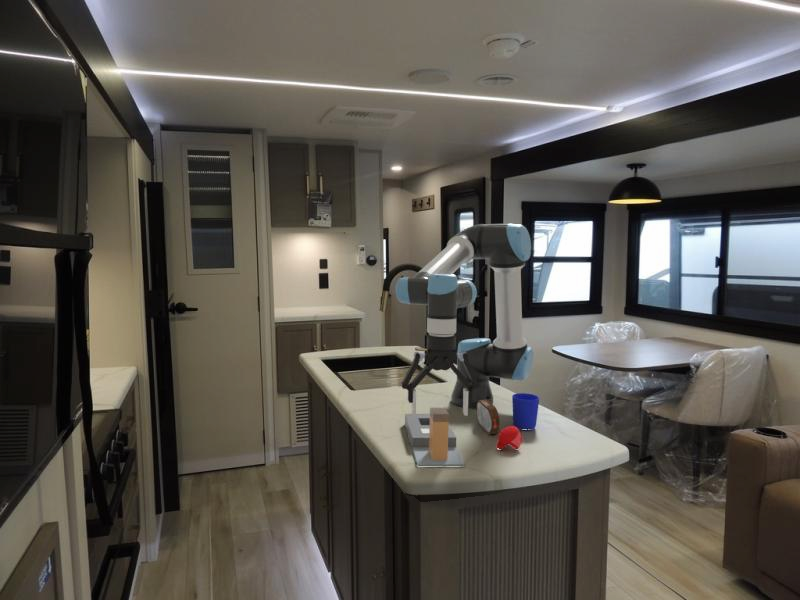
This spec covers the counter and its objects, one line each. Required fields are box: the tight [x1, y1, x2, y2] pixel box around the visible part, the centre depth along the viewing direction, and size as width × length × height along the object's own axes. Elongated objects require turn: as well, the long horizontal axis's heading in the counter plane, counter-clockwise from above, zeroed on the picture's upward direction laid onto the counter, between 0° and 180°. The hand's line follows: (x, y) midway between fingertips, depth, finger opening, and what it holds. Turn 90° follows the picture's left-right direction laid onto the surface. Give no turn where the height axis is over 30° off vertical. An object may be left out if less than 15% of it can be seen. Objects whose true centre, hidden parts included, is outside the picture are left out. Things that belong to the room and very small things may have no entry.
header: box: [404, 413, 457, 451], centre depth 159 cm, size 12×22×4 cm, turn 5°
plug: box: [429, 407, 450, 460], centre depth 142 cm, size 4×6×12 cm, turn 5°
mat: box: [412, 446, 466, 467], centre depth 142 cm, size 12×12×1 cm
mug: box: [511, 392, 540, 431], centre depth 170 cm, size 8×12×10 cm
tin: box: [476, 399, 501, 435], centre depth 166 cm, size 15×3×8 cm, turn 9°
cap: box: [496, 425, 523, 451], centre depth 151 cm, size 8×6×6 cm
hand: (439, 414), depth 141 cm, fingers open, 13 cm apart
